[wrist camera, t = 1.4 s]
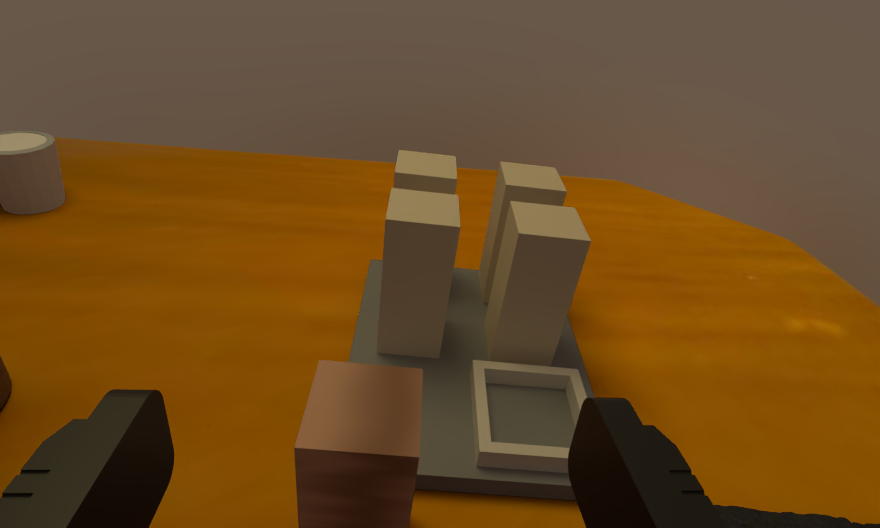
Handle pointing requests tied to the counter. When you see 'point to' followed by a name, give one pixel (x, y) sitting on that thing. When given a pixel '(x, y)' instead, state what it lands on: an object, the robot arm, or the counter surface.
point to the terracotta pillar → (359, 446)
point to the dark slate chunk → (781, 519)
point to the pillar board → (482, 327)
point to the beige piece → (29, 173)
